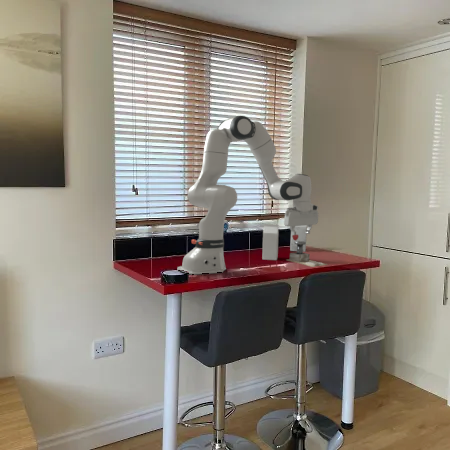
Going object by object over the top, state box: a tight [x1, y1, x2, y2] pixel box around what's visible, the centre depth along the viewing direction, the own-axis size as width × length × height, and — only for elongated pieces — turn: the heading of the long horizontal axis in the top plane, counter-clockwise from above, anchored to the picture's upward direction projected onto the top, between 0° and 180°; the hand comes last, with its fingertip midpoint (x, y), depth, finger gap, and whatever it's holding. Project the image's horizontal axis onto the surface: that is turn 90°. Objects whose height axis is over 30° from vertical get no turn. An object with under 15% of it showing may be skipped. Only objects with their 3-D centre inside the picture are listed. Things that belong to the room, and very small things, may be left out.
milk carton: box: [261, 223, 279, 261], centre depth 230 cm, size 7×7×19 cm
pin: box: [294, 241, 307, 255], centre depth 226 cm, size 6×6×10 cm
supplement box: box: [289, 225, 308, 253], centre depth 266 cm, size 9×9×15 cm
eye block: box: [286, 251, 329, 268], centre depth 223 cm, size 11×19×5 cm, turn 34°
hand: (300, 234), depth 226 cm, fingers open, 8 cm apart
